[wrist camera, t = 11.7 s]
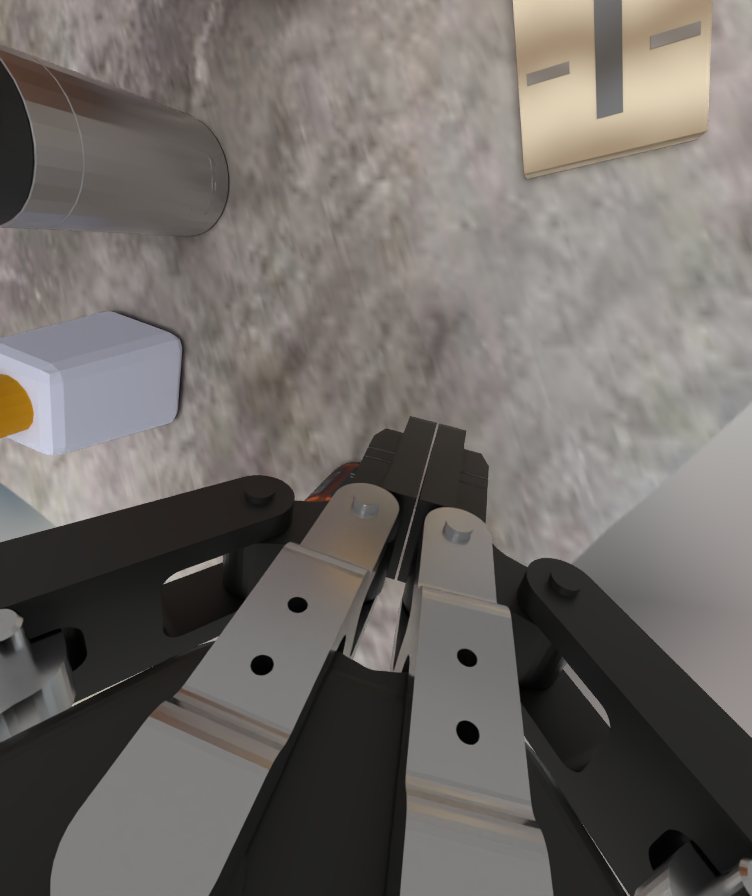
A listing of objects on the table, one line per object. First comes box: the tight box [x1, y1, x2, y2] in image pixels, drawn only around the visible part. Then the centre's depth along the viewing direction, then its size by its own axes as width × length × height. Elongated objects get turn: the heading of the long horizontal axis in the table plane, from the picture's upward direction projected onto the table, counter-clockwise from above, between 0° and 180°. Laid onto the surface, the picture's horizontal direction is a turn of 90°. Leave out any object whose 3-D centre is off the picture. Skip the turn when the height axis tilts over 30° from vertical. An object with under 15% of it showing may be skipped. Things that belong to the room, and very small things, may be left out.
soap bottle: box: [0, 311, 182, 455], centre depth 41 cm, size 10×14×22 cm
